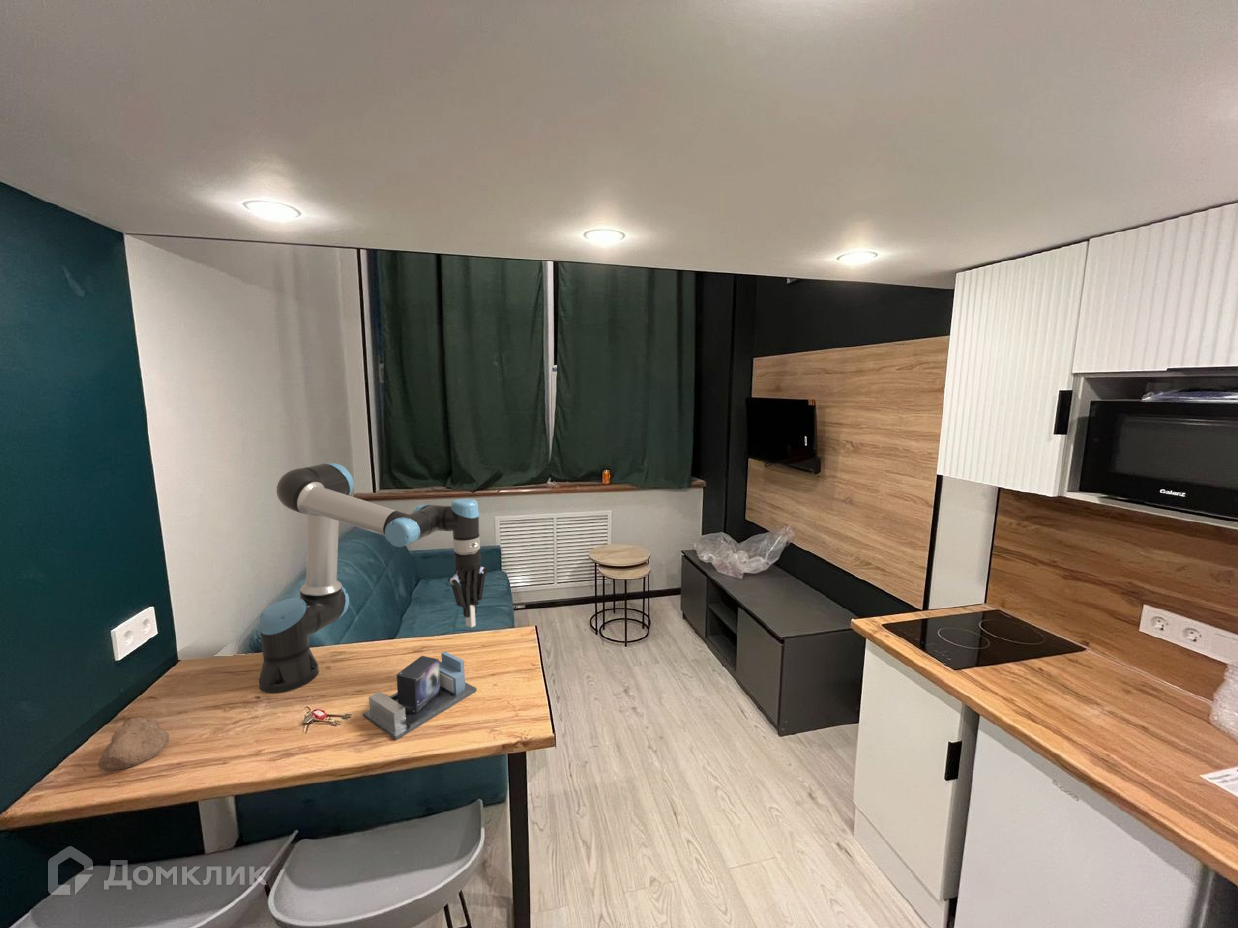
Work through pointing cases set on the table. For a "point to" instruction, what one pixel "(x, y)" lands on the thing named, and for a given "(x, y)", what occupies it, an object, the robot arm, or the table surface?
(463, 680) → the sliding jaw
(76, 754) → the table surface
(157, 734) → the stone
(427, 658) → the small box
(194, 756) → the table surface
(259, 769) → the table surface
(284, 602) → the robot arm
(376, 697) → the vise
